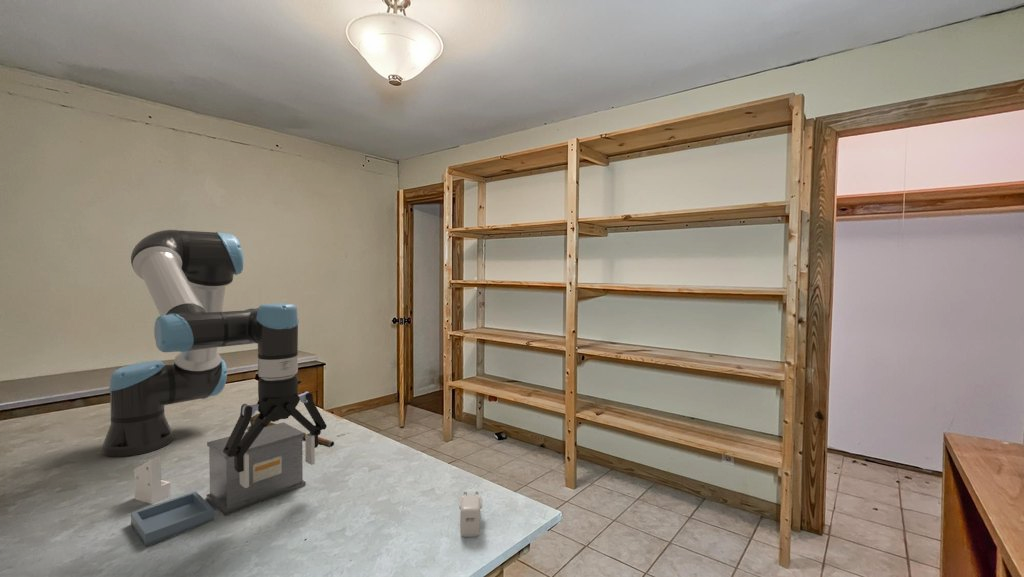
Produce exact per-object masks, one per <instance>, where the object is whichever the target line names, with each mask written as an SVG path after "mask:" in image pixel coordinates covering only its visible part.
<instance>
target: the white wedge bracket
mask: <svg viewBox="0 0 1024 577" xmlns="http://www.w3.org/2000/svg"><path fill="white" fill-rule="evenodd" d="M161 457H162V455H157V456H155V457H152V458H150V459H149V460H147V461H146V462H144V463H141V464H140V465H139V466H137V467H135V468H134V470H133V473H134V475H133V476H134V477H133V478H134V500H137V501H141V502H144V503H147V504H151V505H155V504H157V502H160V501H162V500H164V499H167V498H168V497H170V496H171V482H170V481H167V480H164V479H162V462H161V461H162V458H161Z"/></svg>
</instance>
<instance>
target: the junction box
mask: <svg viewBox="0 0 1024 577" xmlns="http://www.w3.org/2000/svg"><path fill="white" fill-rule="evenodd" d="M246 433H247V431H245V433H244V435H243V437H244V436H245V434H246ZM304 433H305V432H304ZM304 433H303V431H302V430H299V429H297V428H295V427H293V426H292V425H290V424H287V423H286V422H280V423H275V425H272V426H268V427H264V428H263V430H262V431H261V432H260V434H259V435H258V437H257V438H256V439H255V441H254V442H253V443H252V445H251V446H250V447H249V449H248V450H247V452H246V454H247V455H249V487H247V488H244V487H243V486H242V485H240V472H239V473H238V472H237V471H236V470H235V469H234V456H232V457H229V456H227V455H226V454H225V453H223V450H224V448H225V446H226V444H227V442H228V439H229V437H230V435H229V436H226V437H222V438H219V439H214V440H211V441H207V442H206V446H207V447H208V450H209V451H208V455H209V456H208V457H209V458H208V459H209V460H208V461H209V493H207V494H206V499H207V500H208V501H209V502H210V503H211V504H212V505H213V506H214V507H215V508H216V509H217V510H218V511H219V512H220V513H221V514H222V515H223V516H225V517H226V516H230V515H232V514H235V513H237V512H240V511H243V510H245V509H247V508H251V507H253V506H255V505H258V504H261V503H263V502H265V501H268V500H271V499H274V498H277V497H279V496H282V495H284V494H286V493H289V492H292V491H294V490H295V491H296V490H297V489H300V488H303V487H305V486H306V484H307V483H306V481H304V479H303V476H304V475H303V474H304V473H303V471H304V470H303V466H304V465H303V438H302V437H303V436H304ZM243 437H242V438H243ZM241 440H242V439H241Z"/></svg>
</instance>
